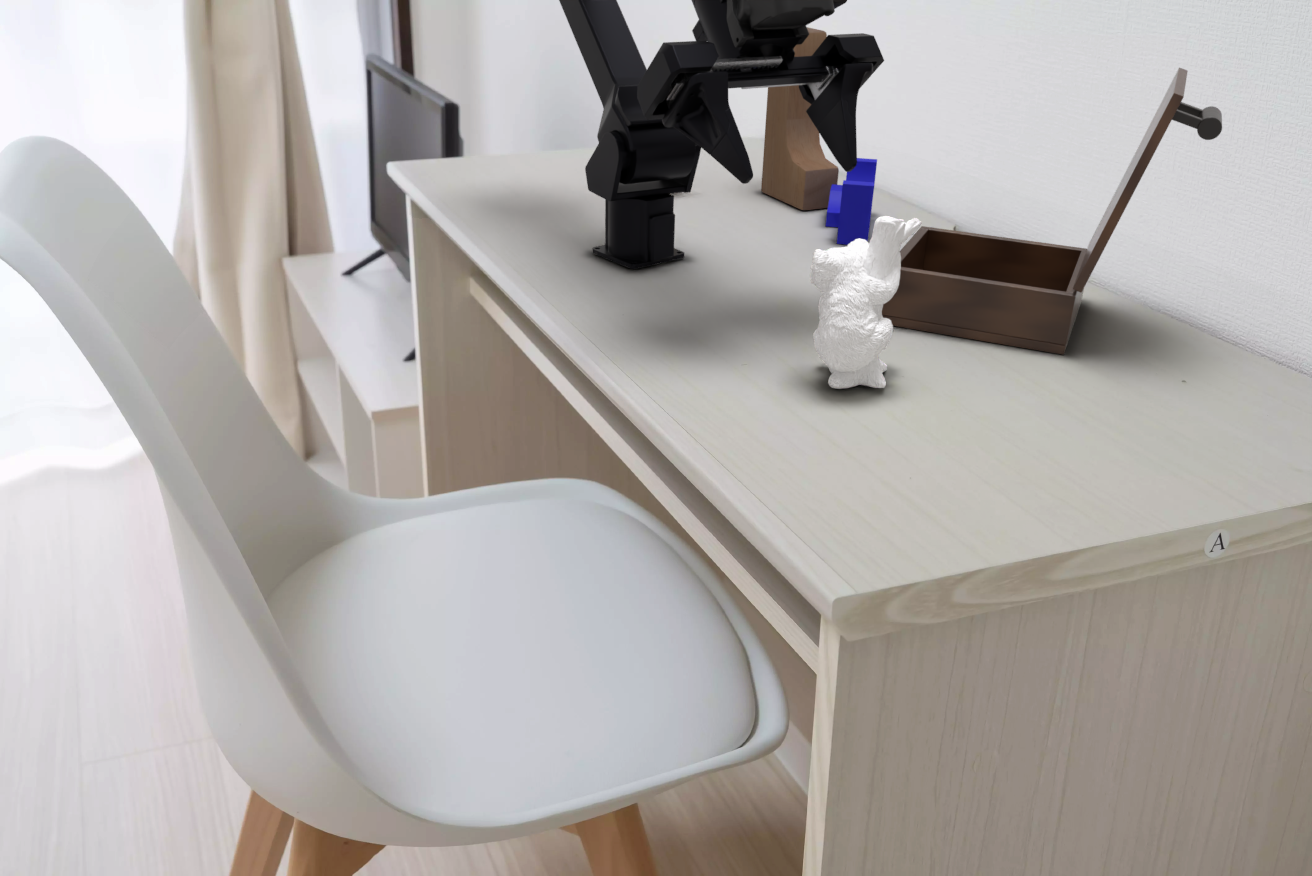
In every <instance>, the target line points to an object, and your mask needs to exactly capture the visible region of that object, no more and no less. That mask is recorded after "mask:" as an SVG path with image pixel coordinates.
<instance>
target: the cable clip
mask: <svg viewBox="0 0 1312 876" xmlns="http://www.w3.org/2000/svg"><path fill="white" fill-rule="evenodd" d="M877 165H878V159H877V158H864V157H857V165H856V166H855V168H854V169H853V170H852V171H850V172H846V176H845V179H844V180H842V184H837V185H834V184H832V186H831V190H830V197H829V204H828V208H827V210H826V217H825V218H826V220H825V227H826V228H827V227H829V228H837V235H836V236H837V237H836V244H837V245H846V246H847V245H848V244H849V243H851V242H853V241H855V239H859V238H860V239H865V240H866V241H868V242H869V234H870V225H871V219H872V218H871V217H872V210H873V209H872V208H873V202H874V201H873V200H874V191H875V183H876V175H877Z"/></svg>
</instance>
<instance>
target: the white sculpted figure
mask: <svg viewBox="0 0 1312 876" xmlns="http://www.w3.org/2000/svg"><path fill="white" fill-rule="evenodd" d="M922 224H923V221H921V220H920V219H919V218H917V217H913V218H912V219H909V220H907V221H905V220H904V218H903V219H900V218H897V217H896V218H895V217H892V216H890V215H881V216H879V217H877V218H876V220H875V221H874V225H873V230H872V235H871V238H870V239H869V240H868V241H866V240H865V239H860V238H859V239H855V241H853V242H851V243H849V244H848V245H846V246H843V247H842V246H840V247H834V246H833V247H830V248H828V249H827V250H826V249H825V250H823V249H821V248H818V249H817V248H816V249H814V252H813V253H812V263H811V265H810V271H811V272H810V274H809V277H810V283H811V284H813V285H814V286H815V289H817V290H818V291H819V292H820V293H822V295H820V296H819V299H818V307H817V308H818V315H819V318H818V319H819V321H818V325H817V328H815V330H814V332H813V333H812V337H813V343H814V344H813V345H814V349H815V352H816V354H817V356H818V357H819V359H820V360H821V361H822V362H823V364H824V365H826V367H827V368H828V370H829V372H830V376H829V377H828V379H827V380H828V382H827V385H828V386H829V387H830V388H831V389H837V390H842V389H849V388H854V387H857V386H865V387H870V388H874V389H883V388H886V386H887V382H886V378H885V376H884V374H883V373H885V372H886V371H887V370H888V364H887V363H885V361H883V360H882V359H880V354H881V353H882V352H883V351H884V350H886V349H887V347H888V346H889V344H890V340H891V338H892V336H893V332H894V330H893V329H894V326H893V325H892V322H891V320H889V319H888V318H883V316H882V308H883V304H885V303H887V302H888V301H889V300H890V299H891V298H892V297H893V296H894V294H895V293H896V291H897V289H898V286H899V280H900V270H901V255H900V254H901V253H900V252H899V251H900V250H901V247H902V244H904V243H905V242H906V241H907V240H908V239H909V238H910V237H911V236H912V235H913V236H914V234H915V233H916V232H917V231H918V230H919V229H920V227H921V226H922Z"/></svg>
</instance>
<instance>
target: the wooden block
mask: <svg viewBox="0 0 1312 876" xmlns="http://www.w3.org/2000/svg"><path fill="white" fill-rule="evenodd" d="M806 27H807V26H806ZM807 29H808V32H809V36H808V37H807V38H806V39H805V41H804V42H803V43H802V44H799V45H796V46H795V47H794V51H795V56H794V57H801V56H812V55H813V54H814V52H815V51H816V50H817V48H818V47H819V46H820V45H821V43H822V42H823V41H824V40H825V38H826V37H827V36H828V34H827V32H826V31H825V30H822V29H817V28H813V27H809V26H808V27H807ZM810 106H811V104H810V103H809V102H807V101H806V100H804V99H803V97H802V94H801V92H800V89H799V85H794V86H780V87H767V97H766V112H765V126H764V127H765V128H764V140H763V141H764V143H763V158H762V171H761V188H760V190H761V192H762V193H763V194H765V195H768V196H770V197H772V198H774V199H775V200H776V199H777V200H778V201H780V202H783V203H785V204H788V205H790V206H792V207H794V208H797V209H798V210H801V211H811V210H820V209H822V210H823V209H828V204H829V197H830V190H831V186H832V184H834V185H838V181H839V173H840V171H839V170H840V169H839V167H838V166H837V165H836V164H834V163H833V162H831V161H830V160H828V159H827V158H826V156H825V153H824V151H823V148H822V146H821V145H822V144H821V142H820V137H821V136H820V133H819V132H818V130H817V128H816V127H815V125H814V124H813V122H812V120H811V119H810V117H809V116H808V114H807V112H806V110H807V109H808V108H809V107H810Z"/></svg>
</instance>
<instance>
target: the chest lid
mask: <svg viewBox="0 0 1312 876" xmlns="http://www.w3.org/2000/svg"><path fill="white" fill-rule="evenodd" d="M1188 72H1189V70H1187V69H1185V68H1182V67H1178V69H1177V71H1176V73H1175V75H1174V76H1173V78H1172V80H1171V82H1170V84H1169V86H1168V88H1167V90H1166V92H1165V94H1164V96H1163V98H1162V100H1161V102H1160V103H1159V106H1158V108H1157V109H1156V112H1155V113H1154V116H1153V117H1152V120H1151V121H1150V123H1149V126H1148V127H1147V129H1146V131H1145V133H1144V135H1143V137H1142V139H1141V141H1140V143H1139V145H1138V146H1137V148H1136V151H1135V152H1134V155H1133V157H1132V158H1131V161H1130V163H1129V164H1128V166H1127V168H1126V170H1125V172H1124V174H1123V176H1122V178H1121V180H1120V182H1119V184H1118V186H1117V188H1116V189H1115V192H1114V193H1113V196H1112V197H1111V199H1110V201H1109V203H1108V205H1107V207H1106V209H1105V211H1104V213H1103V215H1102V217H1101V219H1100V220H1099V223H1098V225H1097V226H1096V229H1095V230H1094V233H1093V235H1092V236H1091V238H1090V240H1089V242H1088V245H1087V248H1086V249H1087V250H1086V253H1085V256H1084V259H1083V262H1082V264H1081V267H1080V270H1079V273H1078V275H1077V278H1076V281H1075V284H1074V287H1073V290H1076V291H1078V292H1082V291H1083V289H1084V290H1085V287H1086V285H1087V283H1088V281H1089V279H1090V277H1091V275H1092V273H1093V272H1094V270H1095V268H1096V266H1097V265H1098V262H1099V260H1100V258H1101V256H1102V254H1103V252H1104V251H1105V249H1106V247H1107V245H1108V243H1109V241H1110V239H1111V238H1112V235H1113V233H1114V231H1115V230H1116V228H1117V226H1118V224H1119V222H1120V220H1121V219H1122V218H1121V217H1122V216H1123V214H1124V212H1125V210H1126V208H1127V206H1128V204H1129V202H1130V201H1131V199H1132V197H1133V195H1134V193H1135V191H1136V189H1137V187H1138V185H1139V184H1140V181H1141V180H1142V177H1143V176H1144V174H1145V172H1146V170H1147V168H1148V166H1149V164H1150V162H1151V160H1152V158H1153V156H1154V155H1155V153H1156V151H1157V149H1158V147H1159V145H1160V143H1161V141H1162V139H1163V138H1164V136H1165V133H1166V132H1167V130H1168V128H1169V127H1170V125H1171V123H1172V121H1174V122H1177V123H1179V124H1182V125H1185V126H1188V127H1190V128H1193V129H1196V131H1197V135H1198V136H1199V138H1201V139H1202V140H1205V141H1211V140H1214V139H1216V138H1218V137H1219V136H1220V135H1221V133H1222V131H1223V114H1222V111H1221V110H1220V109H1219V108H1218V107H1216V106H1207V107H1204V108H1199V107H1197V106H1194V105H1191V104H1188V103H1186V102H1183V99H1184V97H1185V89H1186V84H1187V77H1188ZM1083 292H1084V291H1083Z"/></svg>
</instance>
